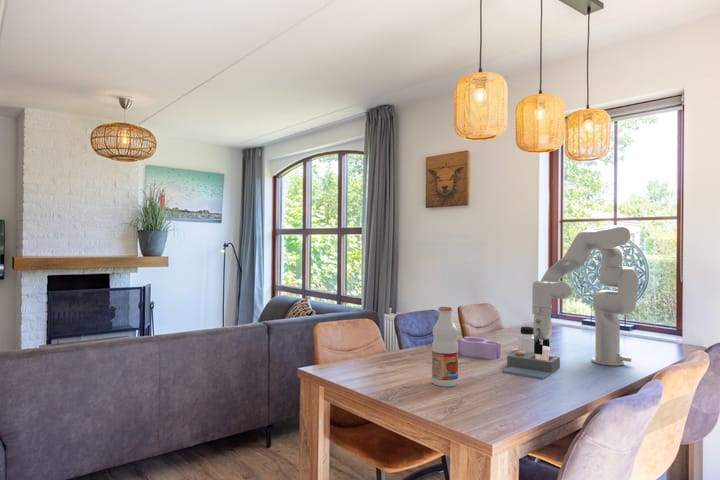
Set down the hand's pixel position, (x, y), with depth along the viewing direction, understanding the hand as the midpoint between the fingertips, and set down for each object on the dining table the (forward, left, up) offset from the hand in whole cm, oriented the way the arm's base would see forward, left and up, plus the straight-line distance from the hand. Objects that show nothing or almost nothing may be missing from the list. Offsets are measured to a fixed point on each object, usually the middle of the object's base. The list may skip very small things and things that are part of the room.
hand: (541, 352), depth 195 cm
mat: (+2, +12, -7) cm, 14 cm away
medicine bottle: (+15, -29, -7) cm, 34 cm away
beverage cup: (0, 0, -7) cm, 7 cm away
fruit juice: (+21, +45, -7) cm, 50 cm away
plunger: (+9, 0, -6) cm, 11 cm away
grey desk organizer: (+3, 0, -7) cm, 8 cm away
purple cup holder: (+31, -7, -7) cm, 32 cm away
